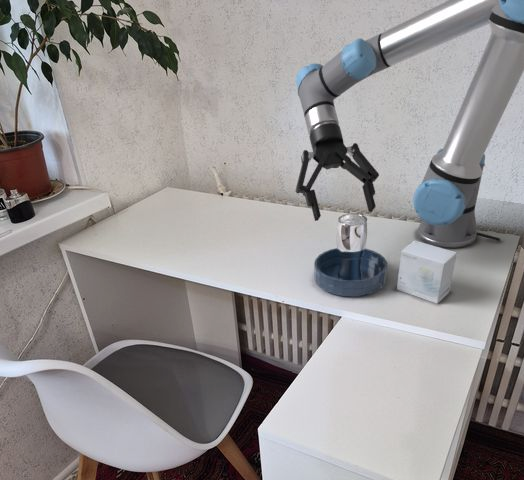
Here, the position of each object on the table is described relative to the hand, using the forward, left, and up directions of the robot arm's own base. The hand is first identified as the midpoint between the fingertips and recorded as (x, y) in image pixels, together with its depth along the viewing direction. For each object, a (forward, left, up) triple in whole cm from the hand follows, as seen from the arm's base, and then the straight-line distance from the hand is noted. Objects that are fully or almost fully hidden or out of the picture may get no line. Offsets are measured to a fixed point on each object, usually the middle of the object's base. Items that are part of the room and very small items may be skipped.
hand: (345, 214), depth 119 cm
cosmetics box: (-19, +8, -15) cm, 26 cm away
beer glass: (-2, +4, -15) cm, 15 cm away
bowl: (-2, +4, -15) cm, 16 cm away
